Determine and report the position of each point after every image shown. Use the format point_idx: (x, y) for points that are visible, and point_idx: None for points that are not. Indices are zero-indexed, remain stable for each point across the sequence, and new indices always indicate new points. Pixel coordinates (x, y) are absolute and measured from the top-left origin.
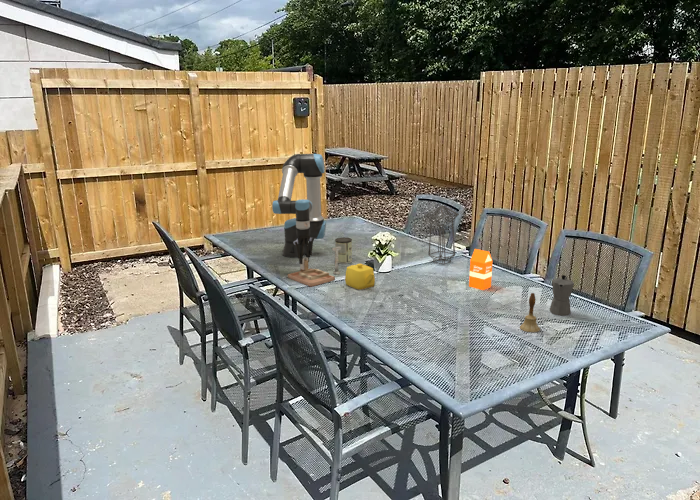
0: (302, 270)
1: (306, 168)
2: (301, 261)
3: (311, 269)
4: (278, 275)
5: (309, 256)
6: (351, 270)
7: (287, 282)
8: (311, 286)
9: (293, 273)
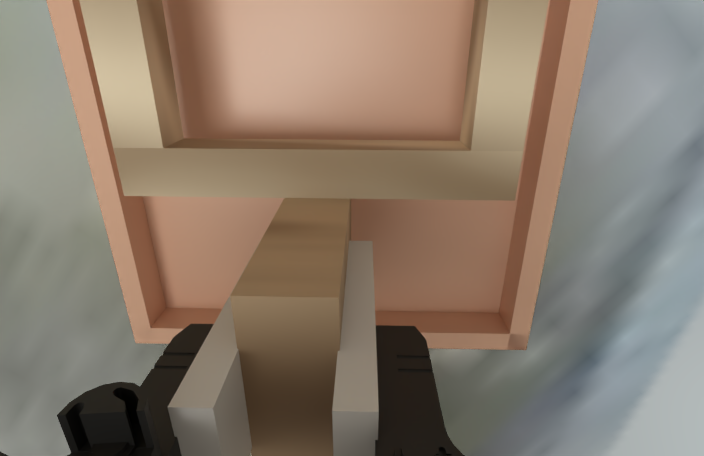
0: None
1: None
2: (405, 372)
3: (218, 195)
4: (518, 429)
5: (95, 410)
6: None
7: (660, 178)
8: None
9: (441, 331)
